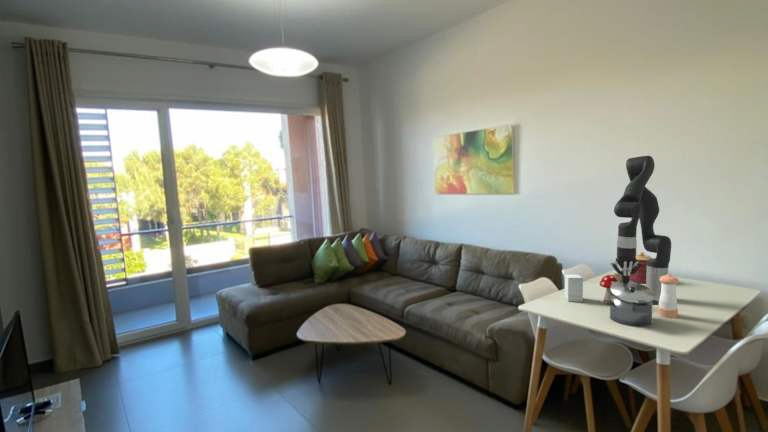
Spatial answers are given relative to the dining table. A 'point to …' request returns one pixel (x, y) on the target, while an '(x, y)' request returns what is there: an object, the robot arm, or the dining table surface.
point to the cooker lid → (631, 291)
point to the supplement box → (574, 288)
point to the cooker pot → (630, 312)
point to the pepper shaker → (668, 297)
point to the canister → (640, 269)
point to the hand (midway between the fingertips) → (625, 283)
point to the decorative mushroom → (607, 285)
